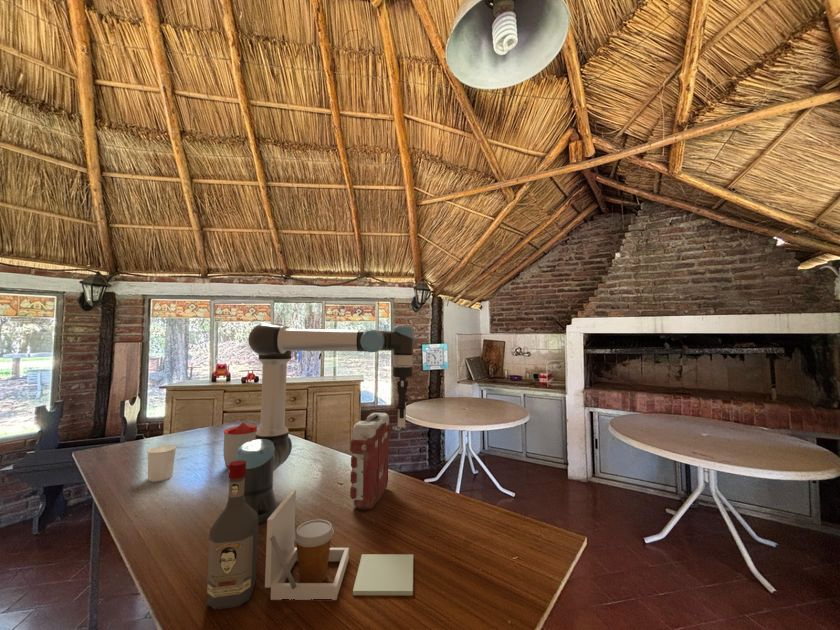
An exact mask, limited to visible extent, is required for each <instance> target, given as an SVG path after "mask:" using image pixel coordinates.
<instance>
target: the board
mask: <svg viewBox="0 0 840 630" xmlns="http://www.w3.org/2000/svg"><path fill="white" fill-rule="evenodd" d="M352 596H414V554H413V553H411V554H395V553H390V554H389V553H387V554H384V553H383V554H381V553H380V554H379V553H377V554H375V553H374V554H370V553H368V554H363V553H362V554H361V557H360V561H359V564H358V569H357V574H356V577H355V580H354V585H353V589H352Z"/></svg>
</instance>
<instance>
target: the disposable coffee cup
mask: <svg viewBox="0 0 840 630" xmlns="http://www.w3.org/2000/svg"><path fill="white" fill-rule="evenodd" d="M334 532H335V531H334V528H333V525H332V523H331V522H330V521H329V520H326V519H311V520H308V521H305V522H303V523H301V524H299V525H298V527H297V528H296V529H295V535H294V542H295V545H296V547H297V556H298V561H297V565H298V566H297V567H298V574H299V575H298V576H299V583H324V582H323V581H324V580H326V577H327V571H328V564H329V561H328V558H329V551H330V548H331V543H332V542H331V541H332V538H333V535H334Z"/></svg>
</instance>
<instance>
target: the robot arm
mask: <svg viewBox="0 0 840 630" xmlns="http://www.w3.org/2000/svg"><path fill="white" fill-rule="evenodd" d="M248 345H249V347H250V349H251V350H252V351H253V352H254V353H256V354H257V355H258V360H259V362H260V363H262V373H261V375H262V376H261V401H260V423H259V425H260V427H259V428H258V429H259V430H258V429H257V430H258V431H257V432H256V436H255V440H252V441H251V442H246V443H244V444H243V445H241V446H240V447H239V448H238V450H237V455H236V461H238V460H244V461H246V476H245V482H244V497H245V502H246V503H247V504H248V505H249V506H250V507H252V508H253V509H254V510H255V511H256V512H257V514H258V525H260V524H263V523H265V522H267V519H268V518H269V517H270V516H271V514H272V513H273V512H274V511H275V509H276V508H277V507H278V502H277V499H276V496H275V491H274V489H273V488H274V487H273V484H274V483H273V482H274V472H275V471H276V470H277V468H279V467H281V466H282V465H283V464H284V463H285V462H286V461H287V459H288V458H289V456H291V453H292V449H293V442H292V439H291V437H290V435H289V433H290V432H289V428H287V427H286V426H285V424H286V422H285V421H286V397H287V396H286V395H287V371H288V370H287V366H288V365H287V364H288V363H289V362H290V361H291V360H292V351H293V352H294V351H296V352H298V351H299V352H300V351H302V352H361V353H362V352H364V353H365V352H368V353H377V352H378V351H393V354H392V364H393V368H392V376H393V377H395V378H399V380H398V381H397V393H398V402H397V403H398V404H397V405H396V407H395V409H396V410H397V428H406V419H407V402H408V400H409V399H408V398H407V395H406V394H407V393H408V385H409V383H408V380H407V378H411V377H413V374H414V373H413V372H414V370H413V369H414V368H413V363H414V362H413V361H414V360H415V357H413V355H414V329H413V327H412V326H410V325H409V326H408V325H395V326H393V330H377V329H328V328H327V329H324V328H323V329H321V328H320V329H318V328H317V329H315V328H307V329H306V328H290V327H289V326H287V325H284V324H281V323H280V324H279V323H261V324H259V325H258V324H257V325H256V326H255V327H253V328H252V329H251V331H250V332H249V334H248Z"/></svg>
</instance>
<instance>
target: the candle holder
mask: <svg viewBox="0 0 840 630" xmlns="http://www.w3.org/2000/svg"><path fill="white" fill-rule="evenodd" d="M176 451H177V446H176V445H160V446H155V447H151V448H149V449H148V450H147V481H148V482H151V481H152V482H154V483H155V482H163V481H166V480H168V479H171V478H172V477H173V474H174V467H175V466H174V465H175V456H176Z"/></svg>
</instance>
